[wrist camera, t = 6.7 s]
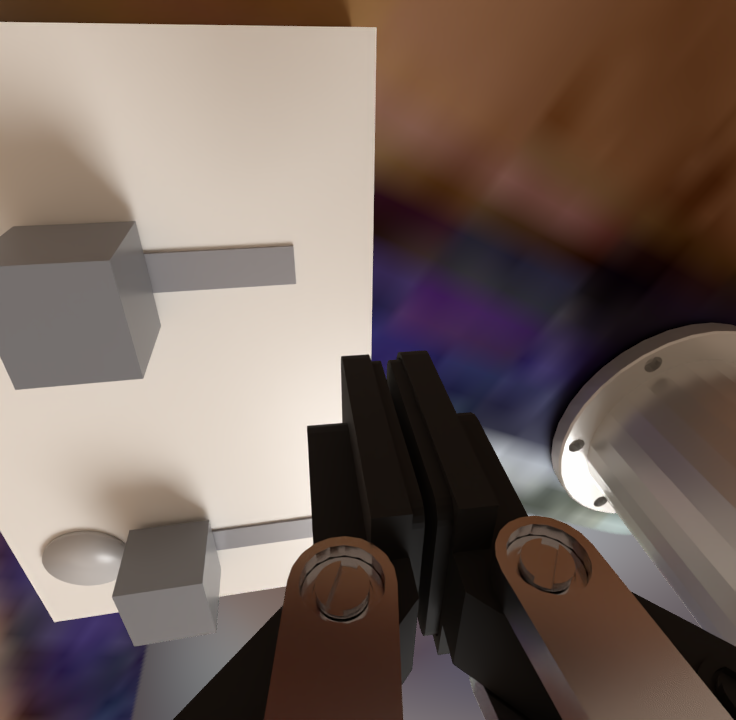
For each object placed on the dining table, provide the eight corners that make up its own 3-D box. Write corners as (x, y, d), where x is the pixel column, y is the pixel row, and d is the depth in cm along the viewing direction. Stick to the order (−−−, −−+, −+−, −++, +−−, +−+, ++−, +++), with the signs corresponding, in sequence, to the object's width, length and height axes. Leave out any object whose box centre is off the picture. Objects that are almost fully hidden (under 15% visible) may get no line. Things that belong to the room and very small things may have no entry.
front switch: (135, 221, 13) (109, 260, 11) (161, 325, 15) (143, 378, 13) (12, 226, 13) (-41, 268, 11) (53, 333, 15) (15, 389, 12)
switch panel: (352, 28, 16) (378, 27, 12) (354, 508, 28) (368, 577, 24) (-167, 21, 13) (-313, 17, 10) (81, 545, 25) (52, 626, 22)
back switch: (209, 519, 20) (202, 583, 18) (221, 569, 22) (216, 632, 19) (129, 530, 20) (111, 597, 17) (148, 579, 21) (134, 646, 19)
